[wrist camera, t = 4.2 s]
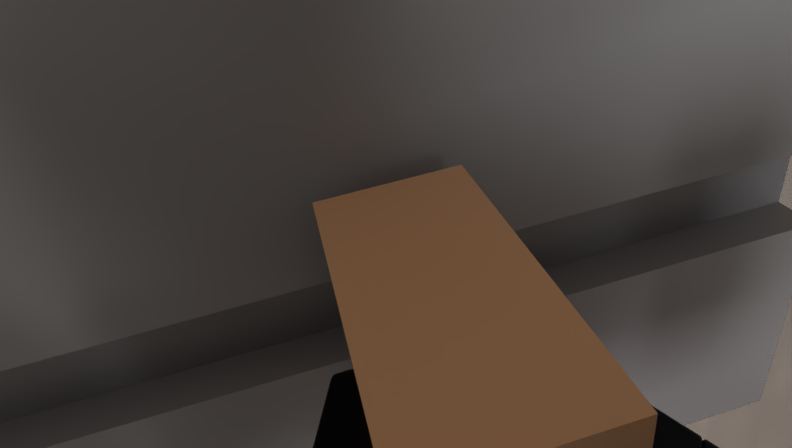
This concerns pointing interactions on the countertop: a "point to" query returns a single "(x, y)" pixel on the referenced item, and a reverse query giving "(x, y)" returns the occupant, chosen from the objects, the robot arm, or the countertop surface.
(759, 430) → the countertop surface
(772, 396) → the countertop surface
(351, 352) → the tan rectangular block
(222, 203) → the console
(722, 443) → the countertop surface
